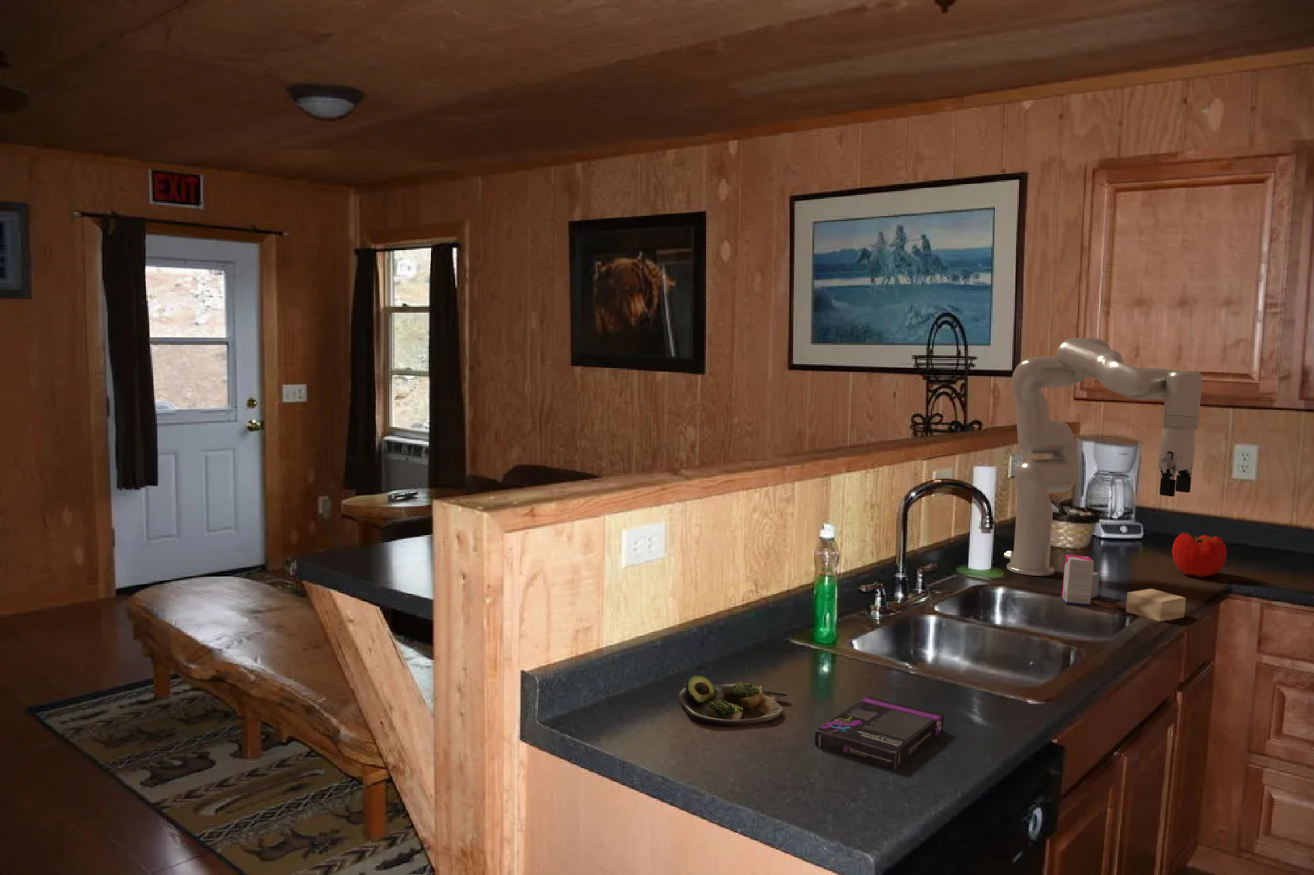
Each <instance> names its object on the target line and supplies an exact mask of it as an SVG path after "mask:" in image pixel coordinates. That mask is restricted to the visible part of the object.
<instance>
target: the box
mask: <svg viewBox="0 0 1314 875" xmlns="http://www.w3.org/2000/svg"><path fill="white" fill-rule="evenodd" d="M944 719H945V716H944V714H942V713H937V712H934V711H929V710H924V709H921V708H916V707H911V706H907V705H904V704H898V703H894V702H890V701H886V700H882V699H879V698H876V697H872V696H865V697H864V698H863V699H861V700H860V701H858V702H857V703H856V704H854V705H852V706H850V707H849V708H847V709H846V710H844V711H843V712H841V713H839V714H838V715H837V716H835V717H833V718H832V719H831V720H829V721H827V722H826V723H824V724H823V725H821V726H819V727H818V728H816V730H815V732H814V746H815V747H816V746H817V747H819V748H823V749H826V750H830V751H833V752H836V753H840V754H843V755H847V756H849V757H853V758H856V759H858V760H859V759H860V760H863V761H867V762H870V763H872V764H876V765H879V766H883V767H886V768H889V769H893V770H896V769H898V768H900V767H901V765H903V764H904V763H905V762H906V761H908V760H909V759H910V758H911V757H912V756H914V755H915V754H917V753H918V752H919V751H920V750H921V749H922V748H923V747H926V745H927V744H929V743H930V742H931V741H932V740H934V739H935V738H936V737H937V736H938V735H939V734H941V733H942V732H943V728H944Z"/></svg>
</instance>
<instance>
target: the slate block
mask: <svg viewBox="0 0 1314 875" xmlns="http://www.w3.org/2000/svg"><path fill="white" fill-rule="evenodd" d="M1099 583H1100V572H1098V571H1097V572H1096V571H1093V578H1092V589H1091V599H1092V598H1093V599H1094V598H1096V597H1098V596H1099V585H1100V584H1099Z"/></svg>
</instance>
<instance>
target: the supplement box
mask: <svg viewBox="0 0 1314 875" xmlns="http://www.w3.org/2000/svg"><path fill="white" fill-rule="evenodd" d="M1094 565H1095V561H1094V560H1093V559H1092V558H1091V557H1090V556H1085V555H1073V554H1065V559H1064V568H1063V581H1062V589H1061V590H1062V591H1061V600H1062V601H1063V603H1064V604H1065V605H1067V606H1068V605H1070V606H1080V607H1081V606H1082V607H1090V606H1091V599H1092V598H1091V589H1092V578H1093V572H1094V568H1095V566H1094Z"/></svg>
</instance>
